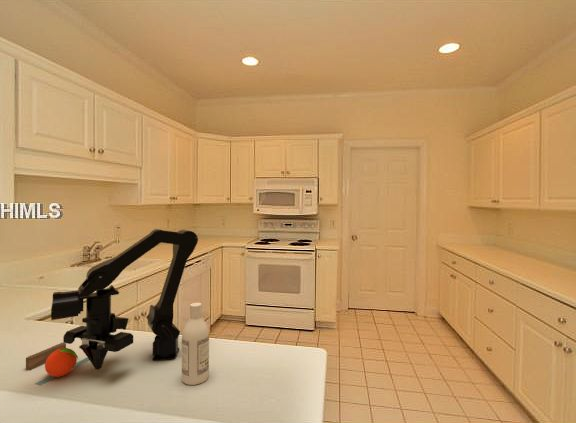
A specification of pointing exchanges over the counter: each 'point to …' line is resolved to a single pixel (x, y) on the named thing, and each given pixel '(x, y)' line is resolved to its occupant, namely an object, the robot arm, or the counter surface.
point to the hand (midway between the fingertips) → (98, 368)
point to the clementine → (61, 362)
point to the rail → (41, 357)
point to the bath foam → (195, 348)
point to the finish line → (55, 377)
